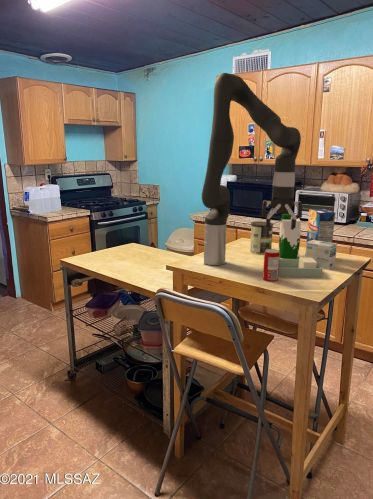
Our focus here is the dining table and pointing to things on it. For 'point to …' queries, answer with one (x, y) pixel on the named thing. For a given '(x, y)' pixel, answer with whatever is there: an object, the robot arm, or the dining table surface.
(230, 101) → the robot arm
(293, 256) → the milk carton
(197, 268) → the dining table surface
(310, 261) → the cream white block
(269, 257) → the soda can
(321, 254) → the light bulb box
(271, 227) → the coffee can
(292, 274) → the tote
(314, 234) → the beverage box
